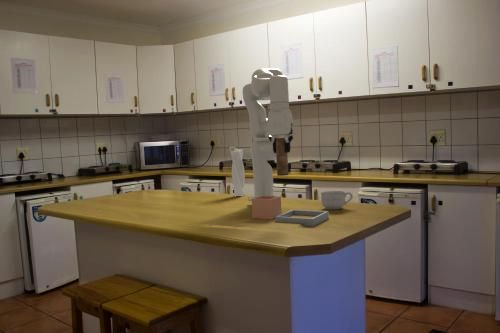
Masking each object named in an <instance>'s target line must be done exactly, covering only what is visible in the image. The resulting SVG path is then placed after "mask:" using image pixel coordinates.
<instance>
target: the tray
mask: <svg viewBox="0 0 500 333" xmlns="http://www.w3.org/2000/svg"><path fill="white" fill-rule="evenodd" d="M294 215H295V217H293V216H294ZM296 215H297V216H311V217H296ZM312 216H314V217H312ZM328 219H330V218H329V211H325V210H308V209H307V210H306V209H304V210H303V209H291V210H288V211H287V212H284V213H282V214H281V215H278V216H276V217H275V218H274V220H275V222H276V223H277V222H280V223H295V224H300V226H301V227H304V226H305V227H315V226H317V225H319V224H320V223H322V222H325V221H326V220H328Z"/></svg>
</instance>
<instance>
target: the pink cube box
mask: <svg viewBox="0 0 500 333" xmlns="http://www.w3.org/2000/svg"><path fill="white" fill-rule="evenodd" d="M282 212H283V211H282V196H281V195H274V196H259V197H256V198H252V201H251V215H252V219H262V220H275V217H276V216H278V215H281V214H283V213H282Z"/></svg>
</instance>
